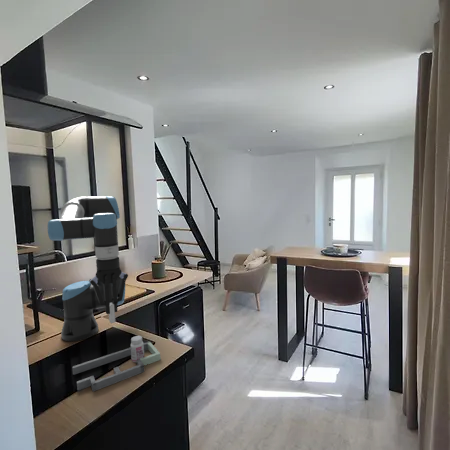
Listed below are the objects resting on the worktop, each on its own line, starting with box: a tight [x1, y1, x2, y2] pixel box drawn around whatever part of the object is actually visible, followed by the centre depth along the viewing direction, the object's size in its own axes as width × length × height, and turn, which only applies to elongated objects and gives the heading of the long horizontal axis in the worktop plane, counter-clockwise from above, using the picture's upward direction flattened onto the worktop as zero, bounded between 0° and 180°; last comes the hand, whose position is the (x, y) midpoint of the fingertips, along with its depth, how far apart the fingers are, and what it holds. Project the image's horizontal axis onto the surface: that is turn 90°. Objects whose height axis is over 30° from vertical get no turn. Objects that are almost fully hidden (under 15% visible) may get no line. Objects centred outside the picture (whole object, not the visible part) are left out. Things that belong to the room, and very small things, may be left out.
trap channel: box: [72, 341, 161, 392], centre depth 102 cm, size 15×28×2 cm, turn 125°
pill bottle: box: [130, 335, 145, 363], centre depth 107 cm, size 5×5×8 cm
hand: (112, 321), depth 102 cm, fingers closed
